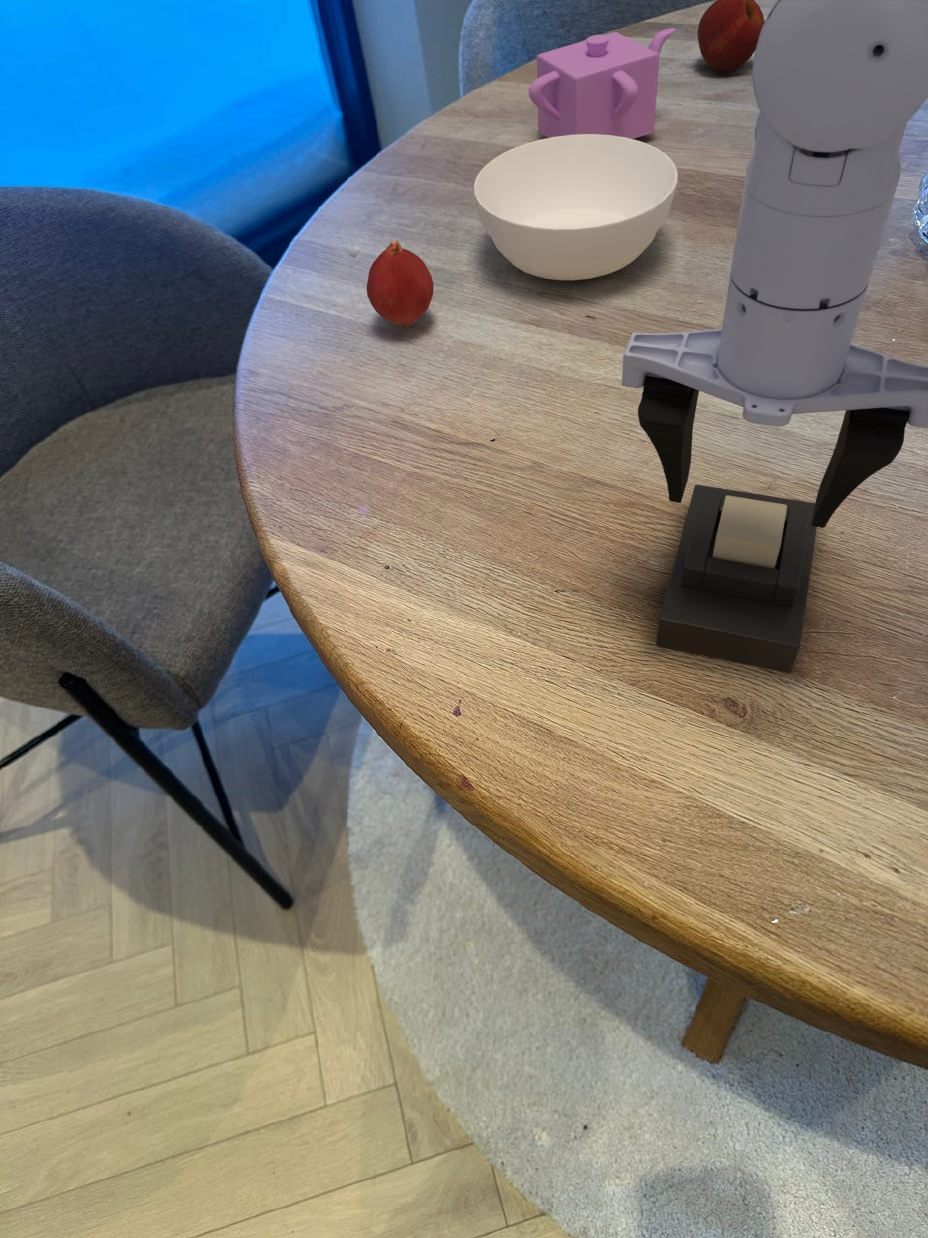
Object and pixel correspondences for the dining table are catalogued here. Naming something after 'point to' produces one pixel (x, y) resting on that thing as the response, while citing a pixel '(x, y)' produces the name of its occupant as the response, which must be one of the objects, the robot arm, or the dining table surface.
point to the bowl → (575, 203)
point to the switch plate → (738, 589)
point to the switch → (750, 532)
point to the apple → (729, 33)
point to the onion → (399, 285)
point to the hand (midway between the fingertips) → (747, 502)
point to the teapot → (598, 87)
